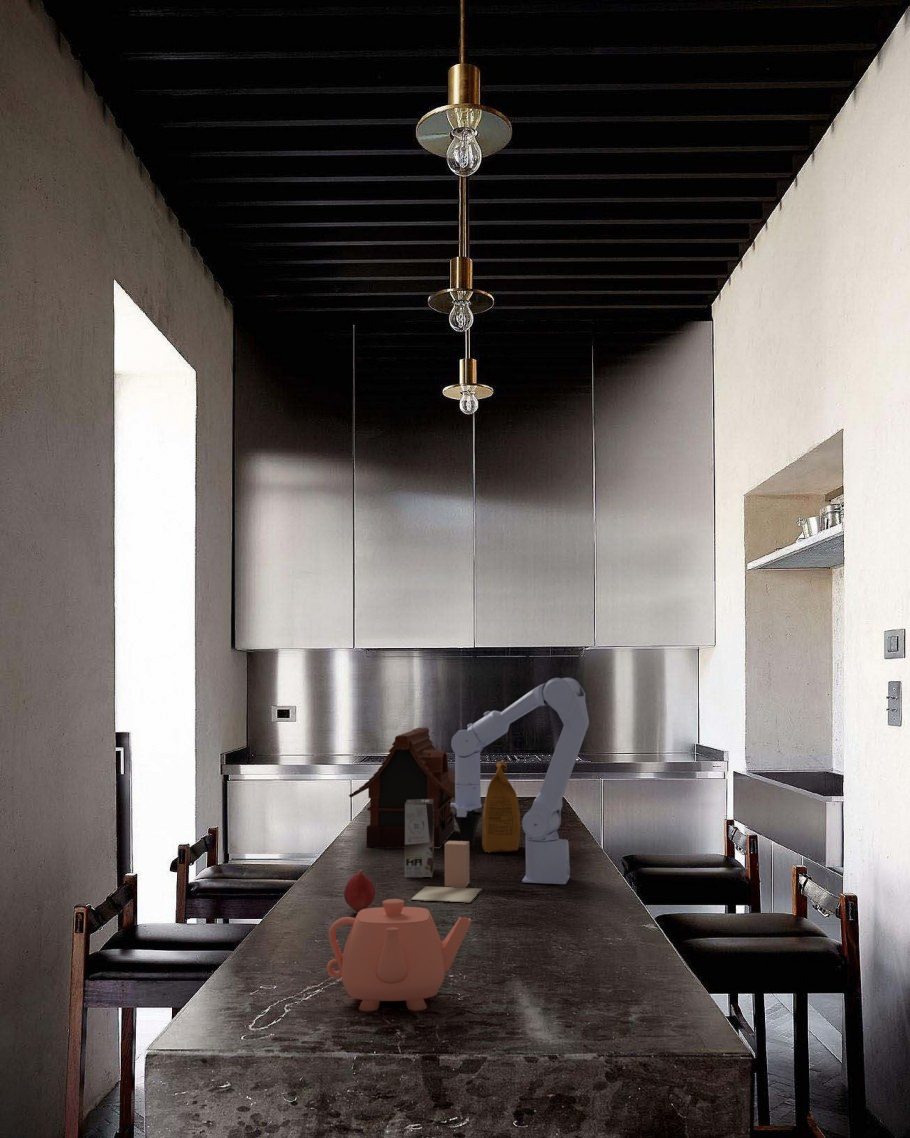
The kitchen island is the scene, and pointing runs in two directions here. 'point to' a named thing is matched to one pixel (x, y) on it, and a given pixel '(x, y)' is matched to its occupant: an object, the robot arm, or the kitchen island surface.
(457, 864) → the tall block
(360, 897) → the onion
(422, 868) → the coffee box
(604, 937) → the kitchen island surface
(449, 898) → the birch board
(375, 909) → the teapot
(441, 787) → the house
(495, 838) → the coffee package
